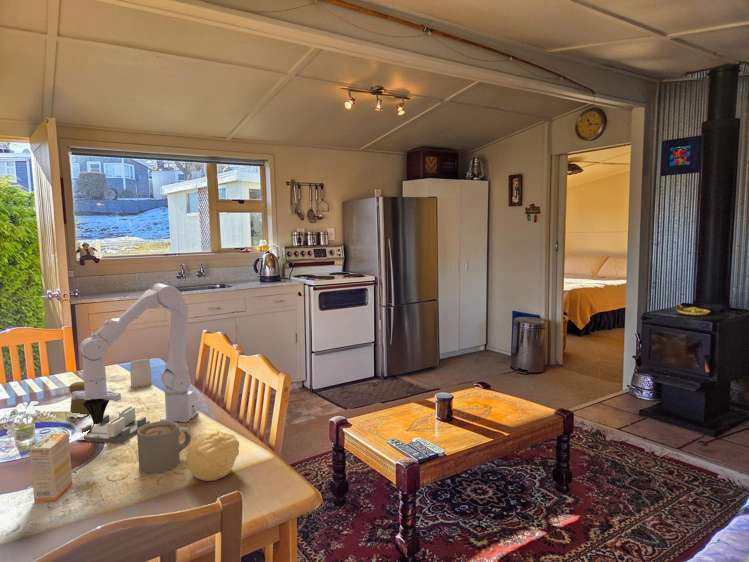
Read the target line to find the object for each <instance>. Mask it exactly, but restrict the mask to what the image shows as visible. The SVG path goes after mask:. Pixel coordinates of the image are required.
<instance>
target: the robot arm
mask: <svg viewBox="0 0 749 562" xmlns="http://www.w3.org/2000/svg"><path fill="white" fill-rule="evenodd" d="M161 306H162V307H163V308H165V310H166V311H168V312H169V313H170V321H169V322H170V326H169V338H168V339H169V340H168V341H169V343H168V359H167V362H166V364H165V365H164V367H165V368H164V371H163V372H162V375H161V382H162V384H163V385H164V386H165V389H164V403H165V404H164V408H165V415H164V416H162V417H161V418H160V419H159V421H173V422H177V421H179V422H178V423H188V422H190V421H191V420H192V419H193V418H195V417H196V416H197V415H199V414H200V412H199V411H198V410H199V409H198V395H197V393H196V392H195V391H193V390H190V389H189V388H190V387H191V383H192V380H191V377H190V374H189V372H190V371H189V368H188V365H187V362H186V358H187V343H188V342H187V341H188V340H187V339H188V324H189V306H188V304H187V302H186V301H185V298H184V297H183V292H181V290H179V289H178V288H176V287H175V286H174V285H167V284H165V283H159V282H158V283H155V284H153V286H151V287H150V288H149V289H147V290H145V291H144V292H143V293H142V295H141V296H140V297H138V299H137V300H135V301H134V303H132V304H131V305H130V306H129V308H127V309H126V310H125V311H124V312H123V313H122V314H121V315H120V316H119V317H117V318H111V319H110V320H108V319H106V320H104V322H103V325H102V326H101V327H100V328H99V329H97V331H95V332H92V333H91V334H90V337H87V338H85V339H83V340H82V341H81V343H80V346H79V347H78V350H79V353H80V354H81V355H82V374H83V375H82V376H83V382H84V389H85V391H75V392H73V393H71V397H72V399H84V400H86V402H84V403H83V405H84V407H85V408H86V409H87V410H88V412H89V413H90V415H89V416H90V418H91V420H92V423H93V425H98V424H100V423H101V422H102V421H103V416H105V411H106V408H107V406H108V405H109V402H110V401H113V402H119V401H121V400H122V396H121V395H122V393H121V392H114V391H111V390H108V388H107V387H108V386H107V375H106V372H107V371H106V361H105V356H106V354H107V351H108V348H110V347H111V346H112V345H114V344H115V342H117V341H118V340H119V339H120V338H121V337H122V336H123V335H124V334H126V333H127V327H128V325H130V324H131V323H132V322H133V321H135V320H136V319H137V318H138V317H140V316H141V315H142V314H143V313H145V312H146V311H147V310H149V309H154V308H159V307H161ZM198 413H199V414H198ZM196 414H197V415H196ZM195 415H196V416H195ZM194 416H195V417H194ZM191 418H192V419H191ZM190 419H191V420H190ZM187 421H188V422H187Z"/></svg>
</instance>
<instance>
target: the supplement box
mask: <svg viewBox="0 0 749 562" xmlns="http://www.w3.org/2000/svg"><path fill="white" fill-rule="evenodd" d="M29 456H30V457H29V458H30V468H31V479H32V489H33V498H34V502H35V503H39V502H38V501H42V502H41V503H43V502H44V501H49V502H56V501H57V500H58V498H60V497H61V496H62V494H63V493H64V492H66V490H67V489H68V488H69V487H70V486H71V485H72V484H73V474H72V473H73V472H72V460H71V449H70V434H69V432H59V433H58V432H57V433H56V432H52V433H48V434H47V435H46V436H44V437H42V438H41V439H40V440H39V441H37V442H36V443H35V444H34V445H32V446H31V447H30V448H29ZM36 501H37V502H36ZM44 503H45V502H44Z"/></svg>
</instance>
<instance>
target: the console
mask: <svg viewBox="0 0 749 562" xmlns="http://www.w3.org/2000/svg"><path fill="white" fill-rule="evenodd" d="M114 419H115V418H111V417H110V414H104V416H103V421H102V422H101V423H100V424H95V426H93V425H92V424H86V425H84V426H83V427H82V428H80V429H81V430H80V431H81V434H82V433H83V432H86V431H88V430H90V431H89V432H88V433H87V435H86V436H84V439H85V440H89V441H88V442H95V443H110V444H111V443H112V444H123V443H124V442H126V441H127V440H129V439H130V438H132V437H134V436H135V435H136V434H137V431H138V429H139V428H140V427H142V426H143V425H146V424H149V423H151V422H150V420H147V416H141V418H139V419H136V420H134V421H133V422H131V423H129V424H128V425H126V426H125V428H124V429H123V430H121V431H120V434H118V435H117V436H115V437H108V429H107V423H109V422H111V421H112V420H114ZM92 426H93V427H92Z"/></svg>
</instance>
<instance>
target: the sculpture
mask: <svg viewBox="0 0 749 562" xmlns="http://www.w3.org/2000/svg"><path fill="white" fill-rule="evenodd" d="M239 447H240V442H239V440H238V439H237V437H236V436H235V435H234V434H232V433H226V432H223V431H222V432H221V431H220V430H217V431H216V432H211V433H206V434H203V435H201V436H199V437H198V438H196V439H195V440H194V441H193V442H192V443H191V445H190V446H189V449H188V451H187V455H186V465H187V467H188V471H189V472H190V474H191V475H192V476H193V477H195V478H196V479H199V480H201V481H205V482H211V481H217V480H221V479H222V478H224V477H225V476H227V475H228V474H230V472H231V471H232V468H233V466H234V464H235V462H236V460H237V457H238V456H239V453H240V448H239Z"/></svg>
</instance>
